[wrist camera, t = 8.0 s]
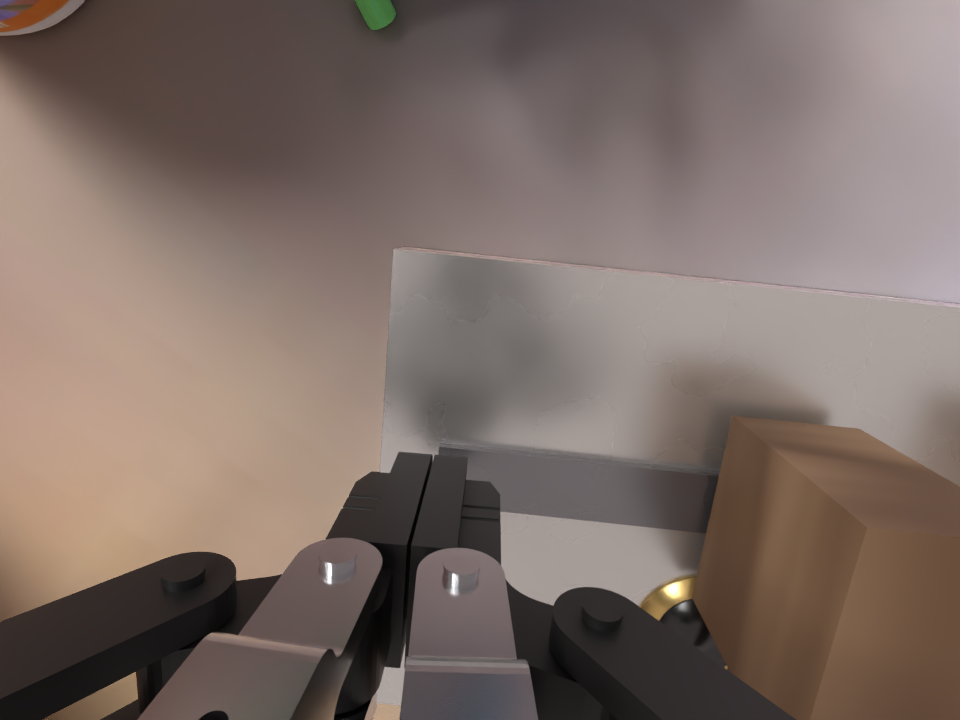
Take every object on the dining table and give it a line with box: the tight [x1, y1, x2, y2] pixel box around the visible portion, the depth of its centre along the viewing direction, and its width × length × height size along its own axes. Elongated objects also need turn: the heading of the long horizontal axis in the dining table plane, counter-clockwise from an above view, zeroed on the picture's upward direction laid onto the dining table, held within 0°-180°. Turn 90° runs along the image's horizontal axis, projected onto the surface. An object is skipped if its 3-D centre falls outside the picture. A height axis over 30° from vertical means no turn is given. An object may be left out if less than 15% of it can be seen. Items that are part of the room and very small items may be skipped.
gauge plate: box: [376, 247, 960, 706], centre depth 13 cm, size 22×13×7 cm, turn 84°
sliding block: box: [692, 415, 960, 720], centre depth 12 cm, size 3×9×5 cm, turn 174°
